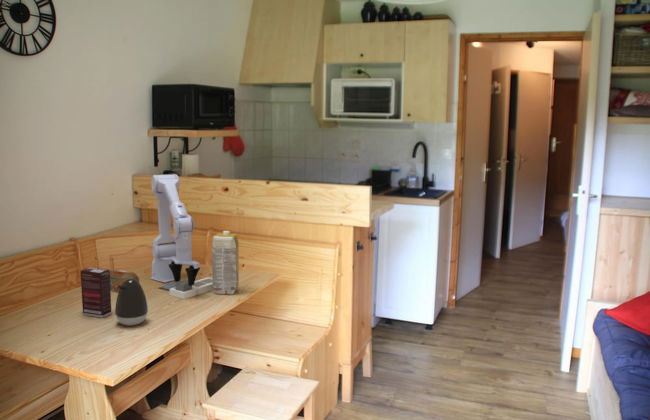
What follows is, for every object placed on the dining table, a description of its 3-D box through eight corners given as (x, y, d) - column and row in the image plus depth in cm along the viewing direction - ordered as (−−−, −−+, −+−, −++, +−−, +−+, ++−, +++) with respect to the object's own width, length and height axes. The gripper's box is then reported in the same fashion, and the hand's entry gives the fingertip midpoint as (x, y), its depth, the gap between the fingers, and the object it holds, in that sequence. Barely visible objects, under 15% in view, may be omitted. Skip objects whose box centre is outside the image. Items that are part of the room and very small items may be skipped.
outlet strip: (169, 295, 218) (169, 287, 217) (214, 280, 237) (214, 273, 237) (183, 299, 213) (183, 291, 213) (228, 284, 233) (228, 277, 232)
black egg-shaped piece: (108, 325, 186) (106, 280, 184) (132, 315, 195) (131, 272, 193) (131, 331, 182) (129, 285, 179) (154, 321, 191) (153, 277, 188)
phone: (158, 289, 225) (158, 287, 225) (182, 281, 237) (182, 278, 237) (171, 292, 222) (171, 290, 222) (195, 284, 234) (195, 281, 234)
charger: (175, 295, 218) (175, 282, 217) (184, 292, 221) (183, 279, 220) (183, 297, 215) (183, 284, 214) (192, 294, 219) (192, 282, 218)
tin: (104, 290, 222) (103, 269, 220) (110, 288, 225) (109, 267, 223) (135, 295, 216) (135, 274, 215) (141, 293, 219) (140, 272, 218)
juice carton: (240, 289, 226) (239, 230, 222) (234, 295, 219) (234, 234, 215) (217, 288, 227) (216, 229, 223) (211, 294, 220) (210, 233, 216)
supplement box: (112, 313, 197) (110, 269, 194) (102, 318, 192) (100, 272, 189) (91, 310, 199) (89, 266, 197) (81, 314, 195) (79, 269, 192)
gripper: (162, 247, 216) (163, 282, 219) (189, 253, 208) (189, 289, 211) (177, 244, 222) (177, 277, 225) (203, 250, 214) (203, 285, 217)
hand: (184, 283), depth 218 cm, fingers open, 7 cm apart
